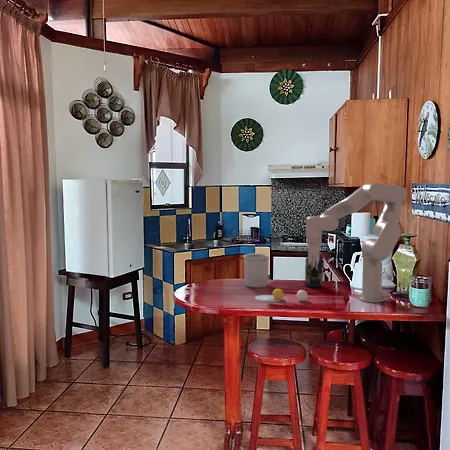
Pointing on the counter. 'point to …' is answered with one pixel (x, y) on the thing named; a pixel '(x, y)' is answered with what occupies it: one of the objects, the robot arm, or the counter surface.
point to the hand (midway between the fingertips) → (314, 276)
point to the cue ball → (302, 295)
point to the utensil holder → (256, 270)
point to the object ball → (277, 293)
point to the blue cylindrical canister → (313, 280)
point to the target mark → (266, 298)
